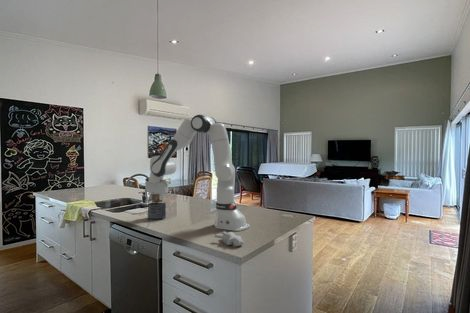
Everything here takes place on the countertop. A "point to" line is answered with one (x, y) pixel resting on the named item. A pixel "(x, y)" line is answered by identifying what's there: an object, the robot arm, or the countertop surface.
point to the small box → (157, 211)
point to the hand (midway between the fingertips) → (157, 199)
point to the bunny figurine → (230, 239)
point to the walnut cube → (155, 198)
